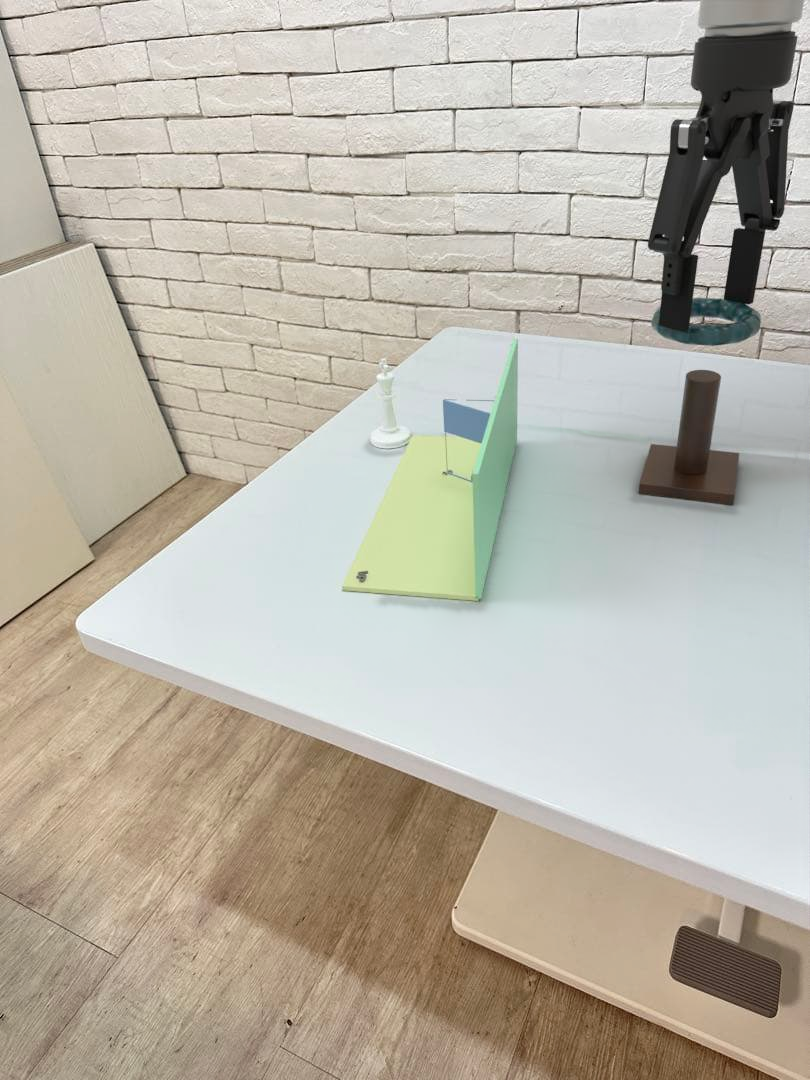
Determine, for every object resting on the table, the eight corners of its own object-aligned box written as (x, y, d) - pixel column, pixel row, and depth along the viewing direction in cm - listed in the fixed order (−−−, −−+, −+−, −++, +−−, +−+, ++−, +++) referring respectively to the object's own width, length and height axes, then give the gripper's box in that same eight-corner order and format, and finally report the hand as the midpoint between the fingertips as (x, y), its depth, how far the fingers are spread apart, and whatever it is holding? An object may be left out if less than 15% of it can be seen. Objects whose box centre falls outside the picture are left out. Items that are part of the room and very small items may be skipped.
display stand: (481, 601, 68) (478, 474, 61) (342, 590, 71) (324, 467, 64) (517, 442, 92) (517, 338, 85) (412, 438, 95) (405, 337, 88)
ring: (760, 316, 78) (763, 298, 77) (756, 351, 70) (760, 331, 69) (658, 311, 81) (660, 293, 80) (644, 344, 74) (646, 325, 73)
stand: (737, 462, 84) (755, 361, 78) (733, 505, 78) (752, 398, 71) (650, 453, 88) (660, 355, 81) (638, 493, 81) (648, 390, 75)
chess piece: (400, 426, 98) (393, 348, 92) (418, 441, 94) (412, 360, 88) (363, 436, 96) (354, 357, 91) (380, 452, 92) (372, 370, 87)
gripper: (780, 22, 70) (739, 279, 83) (615, 43, 60) (597, 335, 72) (866, 18, 65) (808, 293, 77) (703, 41, 54) (666, 355, 67)
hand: (706, 313), depth 75 cm, fingers closed on ring, 9 cm apart
